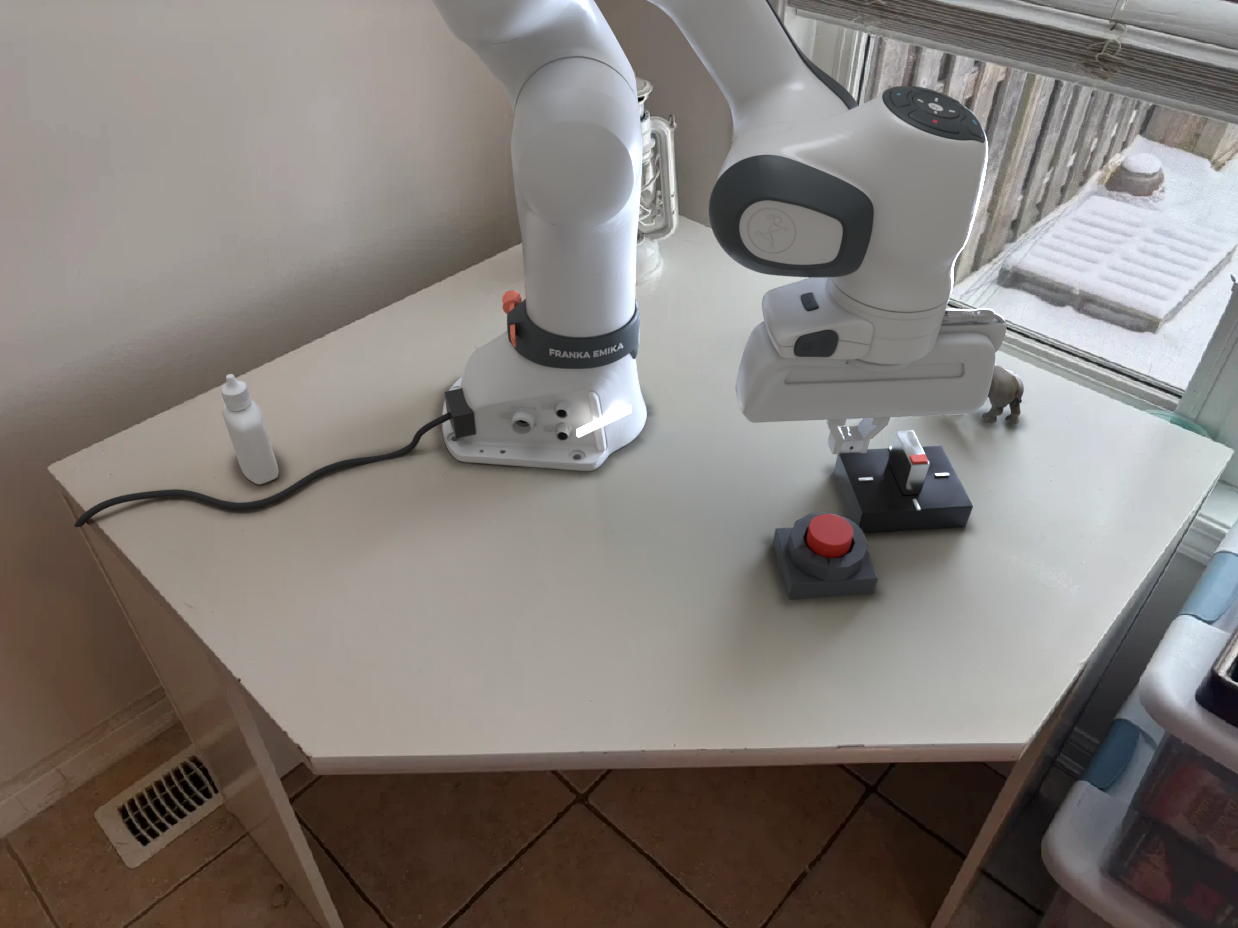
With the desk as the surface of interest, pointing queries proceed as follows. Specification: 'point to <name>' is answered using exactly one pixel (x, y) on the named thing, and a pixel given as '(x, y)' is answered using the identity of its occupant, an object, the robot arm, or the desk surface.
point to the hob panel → (886, 507)
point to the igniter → (823, 564)
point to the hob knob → (908, 462)
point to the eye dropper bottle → (248, 432)
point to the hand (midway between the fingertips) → (846, 448)
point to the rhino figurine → (1004, 395)
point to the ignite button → (829, 536)
